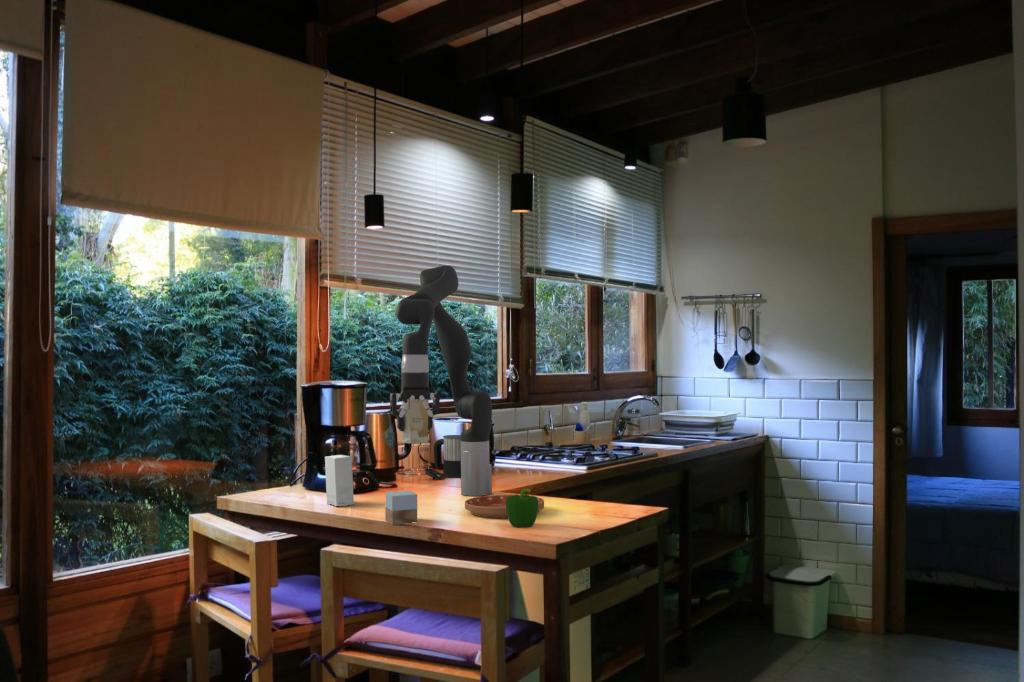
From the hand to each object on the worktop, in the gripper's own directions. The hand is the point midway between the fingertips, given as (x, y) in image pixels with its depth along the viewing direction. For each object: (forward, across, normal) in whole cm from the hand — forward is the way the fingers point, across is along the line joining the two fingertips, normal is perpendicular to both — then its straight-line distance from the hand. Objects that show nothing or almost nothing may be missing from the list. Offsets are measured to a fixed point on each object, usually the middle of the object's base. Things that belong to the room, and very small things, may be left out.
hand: (414, 430), depth 253 cm
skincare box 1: (+25, +14, -33) cm, 44 cm away
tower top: (+21, +4, 0) cm, 21 cm away
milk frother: (+24, -33, -72) cm, 83 cm away
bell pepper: (+25, -24, +20) cm, 40 cm away
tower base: (+25, +4, 0) cm, 25 cm away
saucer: (+25, -27, 0) cm, 37 cm away
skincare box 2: (+4, 0, 0) cm, 4 cm away
